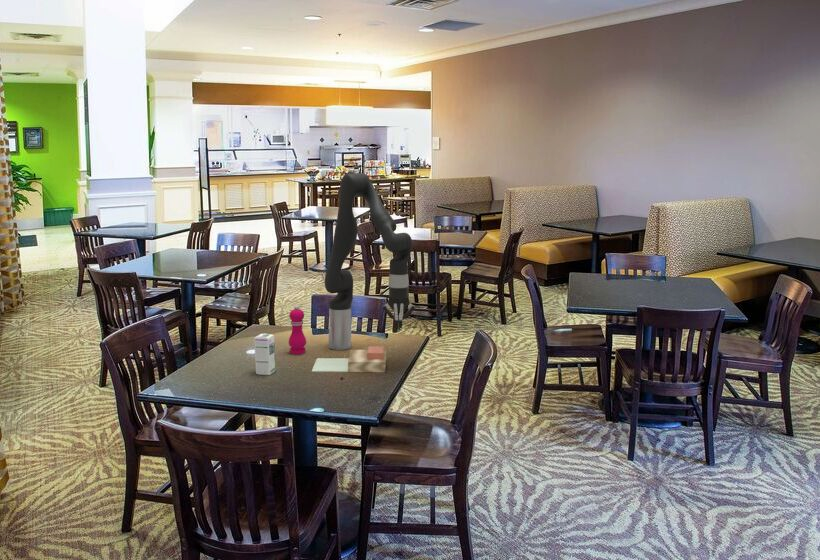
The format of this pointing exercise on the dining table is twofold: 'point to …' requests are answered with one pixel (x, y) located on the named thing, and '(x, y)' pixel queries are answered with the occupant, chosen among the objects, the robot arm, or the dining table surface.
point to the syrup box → (265, 354)
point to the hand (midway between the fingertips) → (398, 329)
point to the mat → (331, 365)
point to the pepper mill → (297, 332)
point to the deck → (365, 362)
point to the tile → (375, 352)
